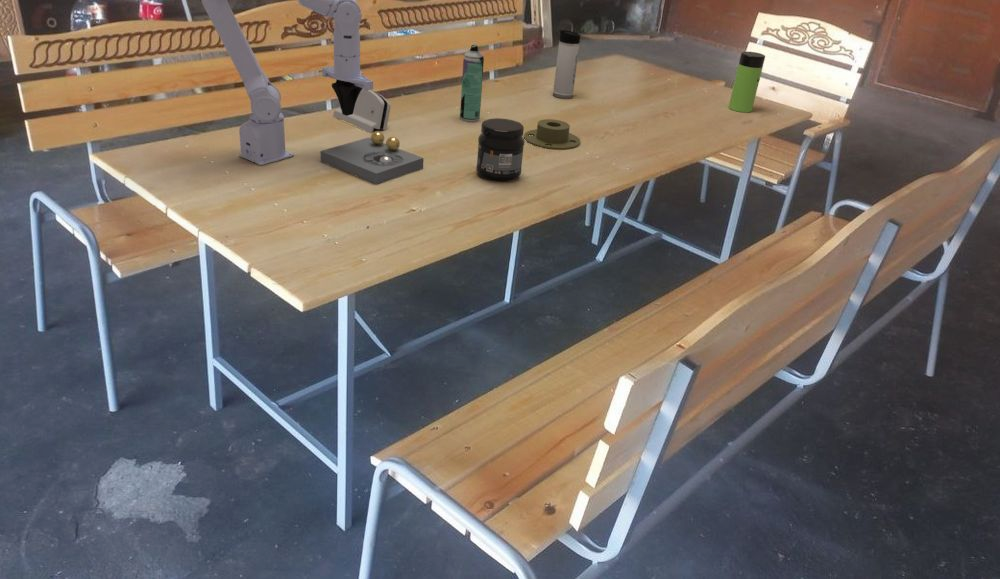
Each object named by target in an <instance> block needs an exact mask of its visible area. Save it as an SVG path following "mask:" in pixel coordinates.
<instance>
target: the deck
mask: <svg viewBox="0 0 1000 579" xmlns="http://www.w3.org/2000/svg"><path fill="white" fill-rule="evenodd" d="M319 154H320V162H321V161H322V162H321V163H323V162H324V163H323V164H326V165H328V164H329V166H331V167H333V168H336V169H338V170H341V171H343V172H345V173H348V174H351V175H353V176H355V175H356V177H357V176H358V177H357V178H359V179H363V180H365V181H368V182H370V183H373V184H375V185H379V184H381V183H384V182H387V181H390V180H393V179H396V178H399V177H402V176H405V175H408V174H410V173H413V172H416V171H419V170H421V169H423V168H424V157H422V156H420V155H418V154H417V155H416V154H414V153H411V152H409V151H405V150H403V149H400V148H398V149H397V150H395V151H391V150H389V149H388V148H387V147H386V142H383V143H382V144H380V145H375V144H373V143H372V141H371V137H364V138H362V139H359V140H354V141H352V142H347V143H344V144H340V145H337V146H333V147H330V148H327V149H322V150H320V152H319ZM383 156H389V157H390V158H391V159H392V161H390V162H379V159H380V158H381V157H383Z"/></svg>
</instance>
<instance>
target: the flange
mask: <svg viewBox="0 0 1000 579" xmlns="http://www.w3.org/2000/svg"><path fill="white" fill-rule="evenodd" d="M570 126H571V125H570V124H569V123H567V122H566V121H563V120H559V119H549V118H548V119H540V120H538V121H537V127H536V129H531V130H528V131H526V132H525V133H523V139H525V140H526V141H527V142H526V141H525V140H524V141H525V142H526V143H527V144H529V143H530V145H531V144H532V146H534V147H537V146H538V147H537V148H540V147H542V148H541V149H545V148H546V149H547V150H554V151H555V150H556V151H565V150H566V151H567V150H571V149H575V148H578V147H579V146H580V144H581V139H580V138H579V137H578V136H577V135H575V134H573V133H572V132H570V128H571V127H570ZM529 135H533V136H529ZM549 145H550V146H549Z"/></svg>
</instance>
